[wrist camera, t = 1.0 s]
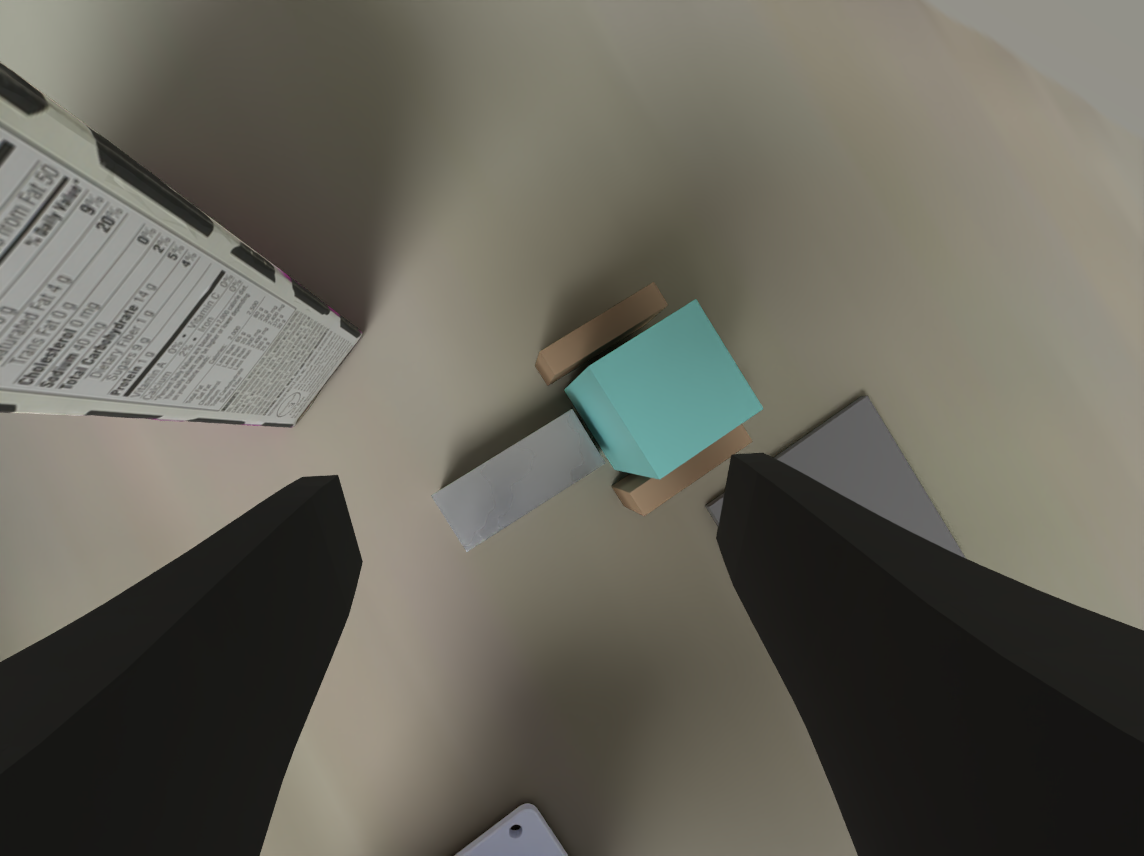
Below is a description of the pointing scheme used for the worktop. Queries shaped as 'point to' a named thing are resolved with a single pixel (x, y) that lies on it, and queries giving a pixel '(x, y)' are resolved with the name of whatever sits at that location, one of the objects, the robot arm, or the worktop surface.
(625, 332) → the channel
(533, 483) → the rod
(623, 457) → the block
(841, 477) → the coaster
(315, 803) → the worktop surface
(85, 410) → the candy bar box
